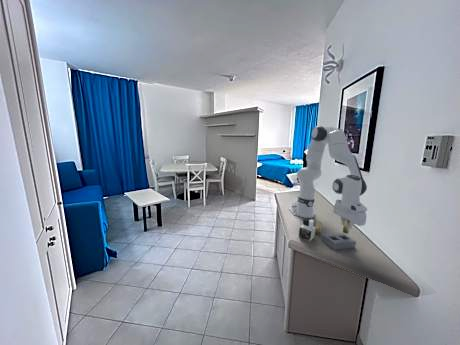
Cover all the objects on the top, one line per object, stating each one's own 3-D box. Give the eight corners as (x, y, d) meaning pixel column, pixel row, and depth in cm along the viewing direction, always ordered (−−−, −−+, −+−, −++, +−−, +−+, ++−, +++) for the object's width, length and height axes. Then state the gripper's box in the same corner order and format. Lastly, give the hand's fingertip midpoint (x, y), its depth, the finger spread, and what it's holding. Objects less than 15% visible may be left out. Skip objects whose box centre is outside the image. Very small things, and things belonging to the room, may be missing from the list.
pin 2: (341, 231, 120) (343, 218, 118) (345, 230, 120) (347, 218, 119) (345, 233, 117) (347, 220, 115) (350, 233, 117) (352, 220, 116)
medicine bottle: (298, 237, 125) (300, 219, 123) (303, 233, 130) (305, 216, 128) (309, 241, 120) (312, 222, 118) (314, 237, 126) (316, 219, 123)
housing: (334, 249, 113) (335, 243, 112) (322, 240, 122) (323, 234, 122) (354, 247, 116) (356, 241, 115) (341, 239, 126) (342, 233, 125)
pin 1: (313, 232, 132) (315, 221, 131) (318, 232, 133) (319, 221, 132) (316, 235, 129) (318, 223, 128) (321, 234, 130) (322, 223, 129)
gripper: (332, 198, 125) (329, 219, 127) (360, 210, 105) (356, 234, 108) (340, 198, 126) (337, 219, 129) (370, 209, 107) (366, 234, 109)
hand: (346, 226), depth 118 cm, fingers closed on pin 2, 3 cm apart
